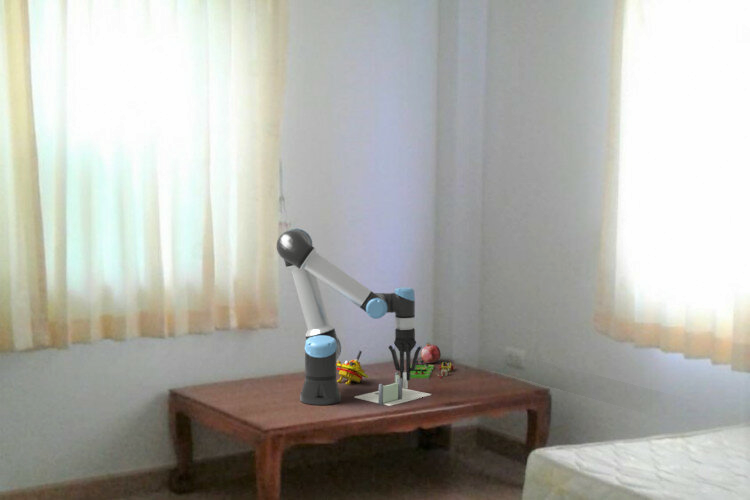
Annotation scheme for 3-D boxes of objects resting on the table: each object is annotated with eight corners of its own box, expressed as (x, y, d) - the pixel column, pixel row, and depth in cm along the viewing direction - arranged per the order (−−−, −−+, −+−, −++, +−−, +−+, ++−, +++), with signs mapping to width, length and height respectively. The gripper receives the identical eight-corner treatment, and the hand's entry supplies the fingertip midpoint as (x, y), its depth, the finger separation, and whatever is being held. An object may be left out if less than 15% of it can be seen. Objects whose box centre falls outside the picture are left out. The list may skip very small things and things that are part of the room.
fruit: (442, 361, 416) (442, 339, 415) (438, 365, 407) (439, 343, 406) (422, 360, 418) (422, 338, 418) (418, 364, 409) (418, 342, 408)
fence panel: (401, 396, 344) (401, 378, 343) (397, 396, 344) (397, 378, 343) (398, 389, 355) (398, 372, 355) (394, 389, 355) (394, 372, 355)
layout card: (389, 406, 332) (389, 404, 332) (354, 397, 344) (354, 396, 344) (431, 395, 350) (431, 394, 350) (396, 387, 362) (396, 386, 362)
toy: (327, 377, 370) (341, 344, 374) (343, 386, 376) (357, 353, 380) (348, 383, 360) (363, 348, 364) (364, 392, 366) (378, 358, 370)
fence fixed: (381, 405, 333) (381, 383, 332) (377, 404, 334) (377, 382, 334) (403, 399, 342) (403, 378, 342) (399, 398, 343) (399, 377, 343)
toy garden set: (411, 368, 404) (411, 357, 403) (454, 369, 401) (454, 359, 400) (404, 378, 381) (404, 368, 381) (450, 381, 378) (450, 370, 378)
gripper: (423, 326, 351) (423, 387, 353) (390, 325, 354) (391, 385, 356) (419, 330, 344) (420, 391, 346) (386, 329, 347) (387, 389, 349)
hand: (405, 388), depth 351 cm, fingers closed
